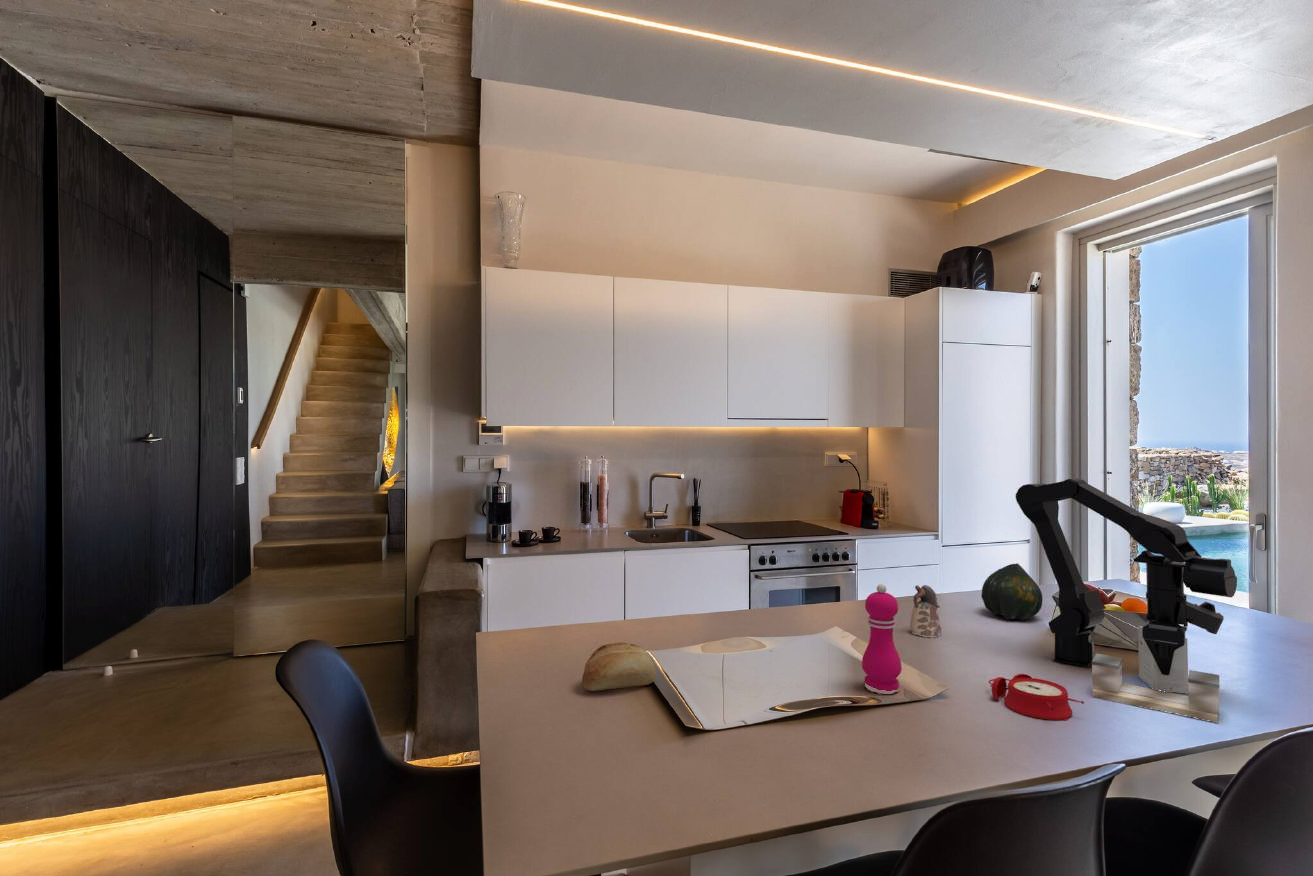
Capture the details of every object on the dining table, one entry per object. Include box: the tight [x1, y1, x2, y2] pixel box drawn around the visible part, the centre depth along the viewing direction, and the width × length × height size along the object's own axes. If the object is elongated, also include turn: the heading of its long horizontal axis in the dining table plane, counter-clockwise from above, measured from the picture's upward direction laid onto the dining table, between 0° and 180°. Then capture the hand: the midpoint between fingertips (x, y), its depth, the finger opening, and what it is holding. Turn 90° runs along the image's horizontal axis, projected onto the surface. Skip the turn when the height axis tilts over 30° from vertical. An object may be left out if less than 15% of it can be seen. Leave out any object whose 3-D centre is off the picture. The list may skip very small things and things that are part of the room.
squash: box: [981, 563, 1043, 621], centre depth 178 cm, size 14×15×15 cm
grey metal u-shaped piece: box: [1091, 653, 1220, 724], centre depth 118 cm, size 18×8×6 cm, turn 49°
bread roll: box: [581, 641, 657, 692], centre depth 126 cm, size 10×15×8 cm, turn 117°
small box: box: [1137, 625, 1189, 695], centre depth 127 cm, size 8×6×10 cm
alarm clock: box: [988, 673, 1085, 722], centre depth 117 cm, size 10×6×15 cm
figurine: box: [909, 584, 942, 636], centre depth 161 cm, size 7×7×12 cm
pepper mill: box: [861, 583, 903, 691], centre depth 125 cm, size 7×7×20 cm
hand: (1166, 668), depth 127 cm, fingers open, 9 cm apart
